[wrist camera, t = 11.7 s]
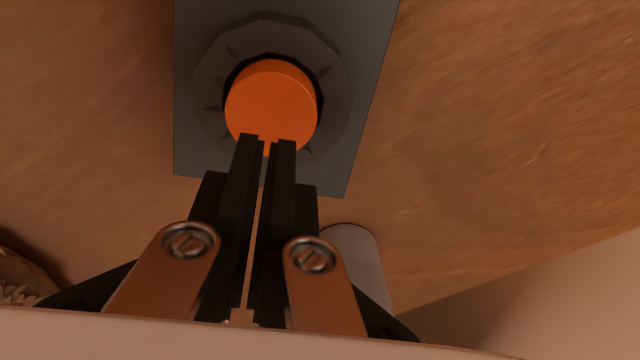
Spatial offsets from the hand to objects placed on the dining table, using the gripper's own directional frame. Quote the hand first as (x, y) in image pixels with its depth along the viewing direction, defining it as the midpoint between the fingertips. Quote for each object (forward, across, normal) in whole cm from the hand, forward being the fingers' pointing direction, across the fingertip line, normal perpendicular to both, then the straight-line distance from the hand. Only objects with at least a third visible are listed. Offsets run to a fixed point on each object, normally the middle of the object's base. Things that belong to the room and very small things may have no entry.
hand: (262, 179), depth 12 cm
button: (+6, 0, 0) cm, 6 cm away
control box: (+9, 0, 0) cm, 9 cm away
